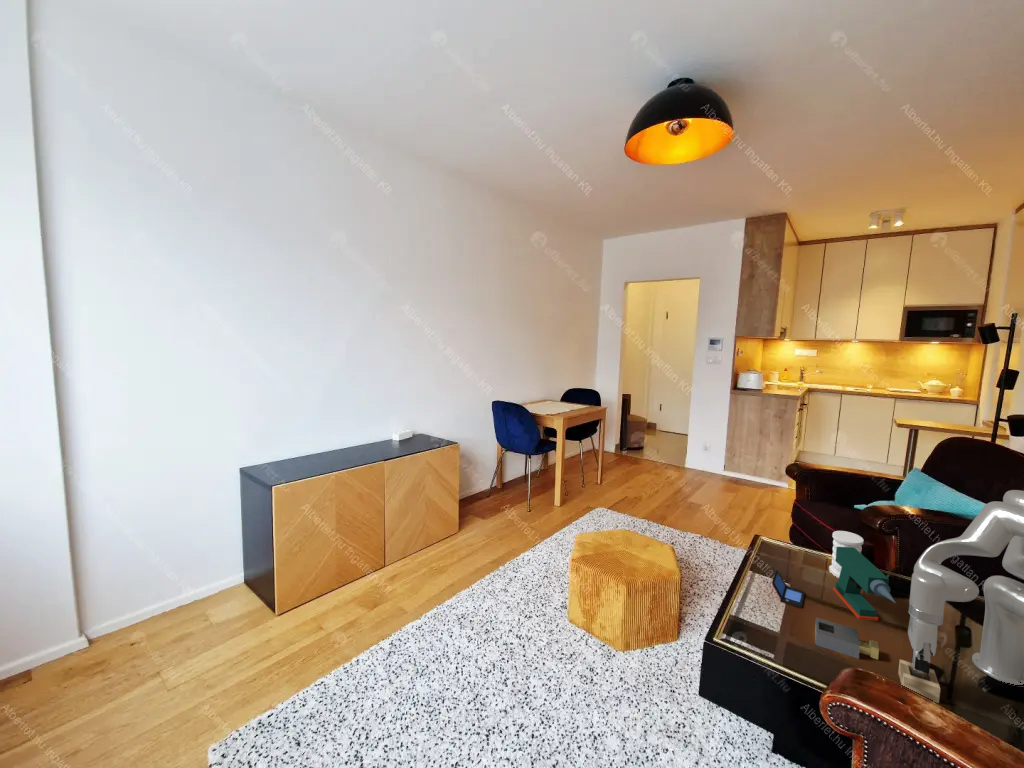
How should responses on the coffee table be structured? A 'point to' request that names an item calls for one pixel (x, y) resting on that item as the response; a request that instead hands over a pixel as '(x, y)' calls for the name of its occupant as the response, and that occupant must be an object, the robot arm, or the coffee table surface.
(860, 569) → the power tool
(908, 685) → the beige open box
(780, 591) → the handheld game console
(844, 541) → the decorative container
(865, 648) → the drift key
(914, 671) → the grey peg
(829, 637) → the socket block
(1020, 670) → the robot arm
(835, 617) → the coffee table surface
